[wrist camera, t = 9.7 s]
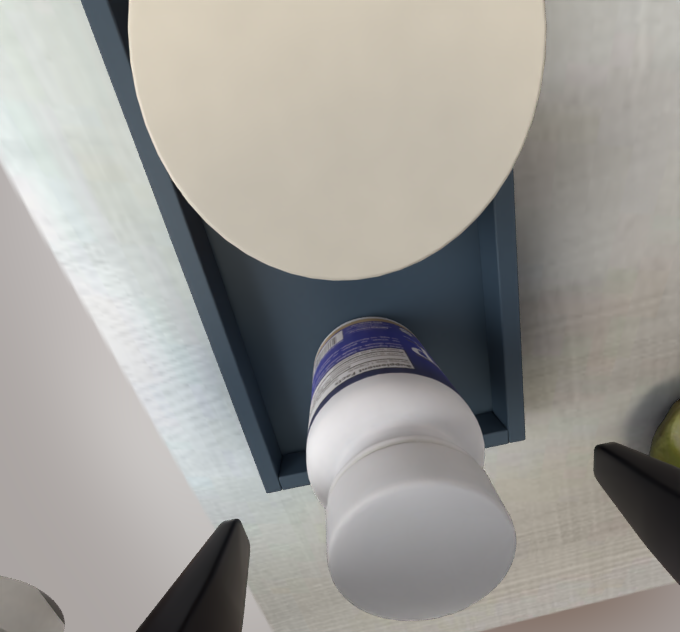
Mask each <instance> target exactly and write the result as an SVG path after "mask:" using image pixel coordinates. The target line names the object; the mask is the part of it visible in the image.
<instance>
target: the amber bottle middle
mask: <svg viewBox="0 0 680 632" xmlns="http://www.w3.org/2000/svg"><path fill="white" fill-rule="evenodd" d="M128 37H129V50H130V63H131V68H132V74H133V79H134V85H135V90H136V95H137V99H138V102H139V105H140V108H141V112H142V115H143V118H144V122H145V125H146V128H147V130H148V132H149V135H150V137H151V139H152V142H153V144H154V146H155V149H156V151H157V153H158V156H159V157H160V159H161V161H162V163H163V165H164V166H165V168H166V170H167V172H168V173H169V175H170V177H171V179H172V181H173V182H174V183H175V185H176V186H177V188H178V189H179V190H180V192H181V193H182V195H183V196H184V197H185V199H186V200H187V201H188V203H189V204H190V205H191V206H192V207H193V208H194V210H195V211H196V212H197V213H198V214H199V215H200V216H201V217H202V218H203V220H204V221H205V222H206V223H207V224H208V225H209V226H211V227H212V228H213V229H214V230H215V231H216V232H217V233H219V234H220V235H221V236H222V237H223V238H224V239H225V240H227V241H228V242H230V243H231V244H233V245H234V246H235V247H237V248H238V249H240V250H241V251H243V252H244V253H246V254H247V255H249V256H251V257H253V258H255V259H257V260H259V261H261V262H263V263H265V264H267V265H269V266H271V267H274V268H277V269H280V270H282V271H285V272H288V273H291V274H295V275H299V276H304V277H308V278H313V279H322V280H332V281H340V280H360V279H366V278H372V277H379V276H382V275H385V274H389V273H392V272H396V271H399V270H402V269H404V268H406V267H409V266H411V265H413V264H415V263H418V262H420V261H422V260H424V259H425V258H427V257H429V256H430V255H432V254H434V253H436V252H437V251H439V250H441V249H442V248H443V247H445V246H446V245H447V244H449V243H450V242H451V241H452V240H454V239H455V238H456V237H458V236H459V235H460V234H461V233H462V232H463V231H464V230H465V229H466V228H468V227H469V226H470V225H471V224H472V223H473V222H474V221H475V220H476V219H477V218H478V217H479V216H480V214H481V213H482V212H483V211H484V209H485V208H486V207H487V206H488V204H489V203H490V202H491V201H492V200H493V198H494V197H495V196H496V194H497V193H498V191H499V189H500V188H501V186H502V185H503V183H504V182H505V180H506V179H507V177H508V176H509V174H510V172H511V170H512V168H513V166H514V164H515V162H516V160H517V158H518V156H519V154H520V152H521V150H522V148H523V146H524V143H525V140H526V138H527V135H528V132H529V130H530V127H531V124H532V122H533V118H534V115H535V111H536V107H537V103H538V99H539V95H540V91H541V85H542V78H543V71H544V64H545V51H546V13H545V0H129V14H128Z"/></svg>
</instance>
